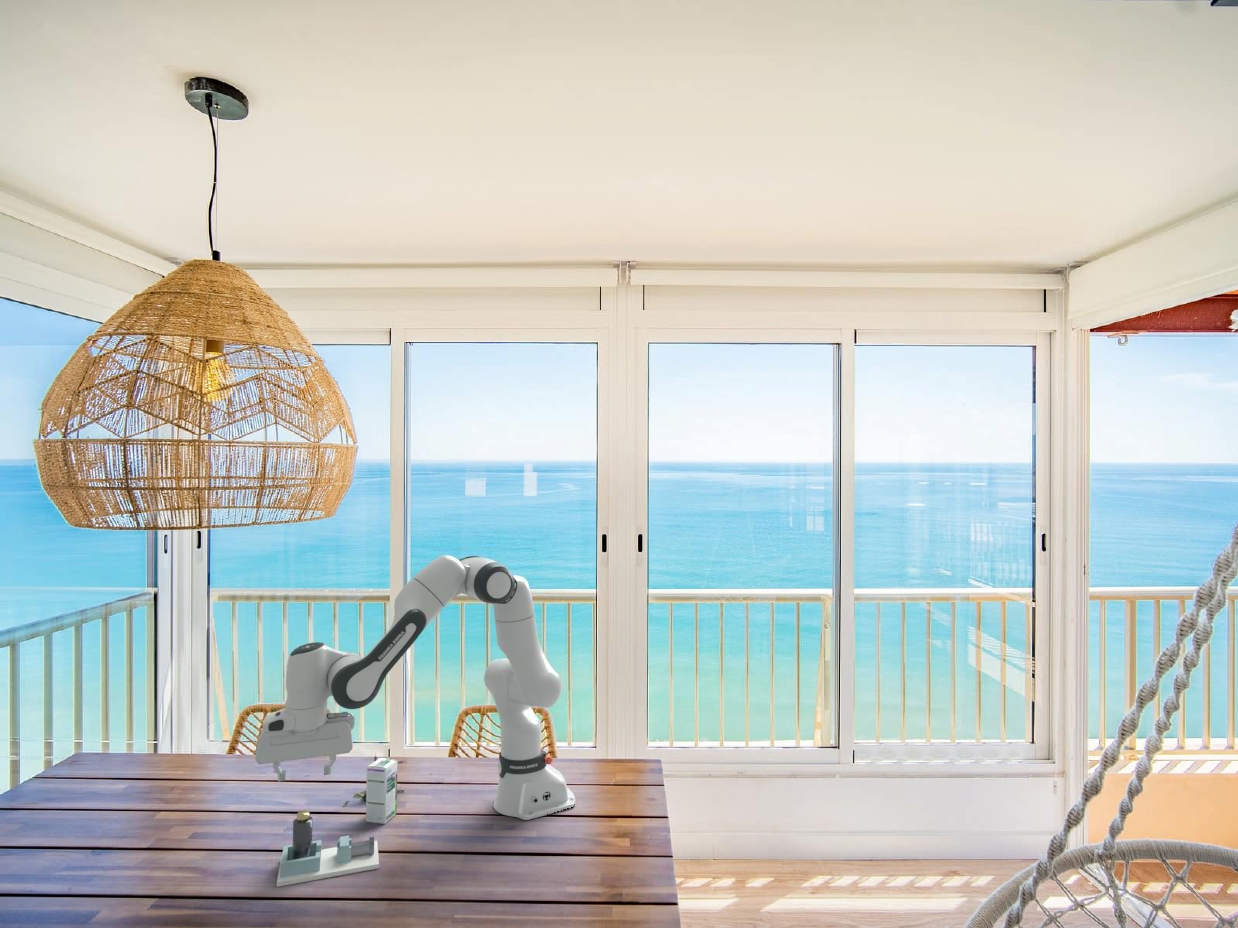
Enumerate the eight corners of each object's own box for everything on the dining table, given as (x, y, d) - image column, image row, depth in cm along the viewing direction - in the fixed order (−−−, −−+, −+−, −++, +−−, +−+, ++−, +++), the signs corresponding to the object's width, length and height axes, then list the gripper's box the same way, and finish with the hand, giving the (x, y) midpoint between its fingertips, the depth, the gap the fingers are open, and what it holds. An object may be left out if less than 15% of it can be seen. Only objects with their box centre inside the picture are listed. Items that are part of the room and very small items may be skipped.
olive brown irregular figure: (406, 791, 194) (408, 744, 194) (398, 808, 184) (399, 759, 184) (353, 792, 193) (355, 745, 193) (341, 809, 183) (343, 759, 183)
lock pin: (373, 848, 160) (373, 836, 160) (373, 854, 157) (374, 842, 158) (337, 855, 157) (337, 842, 157) (336, 860, 154) (337, 848, 155)
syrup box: (385, 824, 174) (387, 767, 174) (364, 822, 175) (366, 765, 176) (396, 814, 179) (398, 759, 180) (376, 811, 181) (378, 757, 181)
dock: (377, 844, 164) (377, 824, 164) (379, 868, 154) (379, 847, 154) (281, 860, 156) (282, 839, 156) (276, 887, 146) (277, 864, 146)
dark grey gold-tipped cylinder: (311, 858, 156) (313, 807, 156) (310, 867, 152) (312, 815, 152) (292, 862, 154) (294, 810, 154) (291, 871, 150) (292, 818, 151)
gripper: (354, 706, 161) (353, 764, 161) (258, 716, 153) (257, 778, 153) (355, 715, 155) (353, 775, 155) (254, 726, 148) (253, 790, 147)
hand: (304, 777), depth 154 cm, fingers open, 8 cm apart
